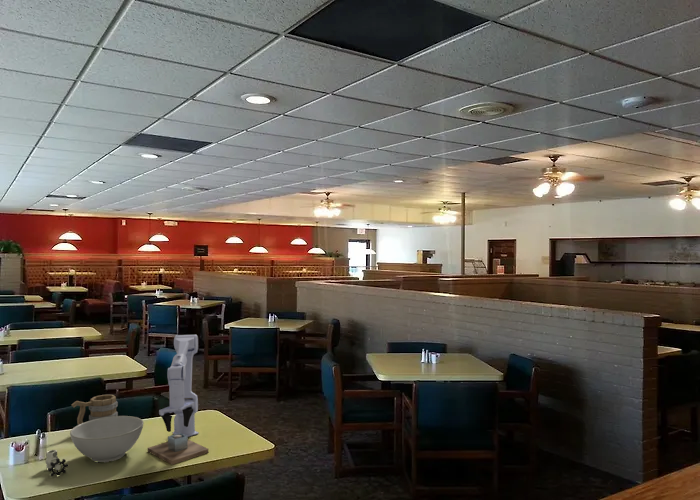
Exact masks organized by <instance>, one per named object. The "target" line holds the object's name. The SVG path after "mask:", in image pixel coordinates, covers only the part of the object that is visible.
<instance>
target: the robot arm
mask: <svg viewBox="0 0 700 500" xmlns="http://www.w3.org/2000/svg"><path fill="white" fill-rule="evenodd" d="M173 346H174V347H173V348H174V350H175V352H176V354H174V356H173V358H172V362H171V365H170V367H168V368H167V373H166V374H167V382H168V383H167V384H168V386H169V392H168V393H169V406H167V407H164V408H162V409H161V408H160V409H159V410H158V414H159V416H160V417H161V419H162V421H163V422H164V426H165V428H166V431H167V432H168V433H169V432H172V419H173V429H174V431H173V432H172V435H175V434H178V433H182V434H184V435H186V436H187V438H188V437H192V436H195V435H198V434H200V433H199V432H198V431H196V426H195V425H196V424H195V422H196V419H195V417H196V415H195V414H196V413H197V412H199V411H198V409H199V400H198V395H197V394H196V393H195V392H193V390H192V383H193V380H192V379H193V359H194V355H195V354H197V353H198V350H199V337H198V335H197V334H175V336H174V338H173ZM171 413H174V414H175V416H174V418H173V415H171Z"/></svg>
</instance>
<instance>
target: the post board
mask: <svg viewBox="0 0 700 500" xmlns="http://www.w3.org/2000/svg"><path fill="white" fill-rule="evenodd" d="M174 435H175V434H174ZM181 437H182V436H181V435H175V436H174V439H177V438H181ZM147 452H148V453H149V454H151V455H153V456H155V457H156V458H159V459H160V460H162V461H165V462H166V463H168V464H170V465H176V464H179V463H182V462H185V461H187V460H190V459H193V458H197V457H199V456H203V455H207V454H209V448H207V447H205V446H203V445H201V444H199V443H197V442H194V441H192V440H190V439H188V448H187V449H184V450H181V451H177V452H173V451H172V450H170V449H168V441H166V442H162V443H159V444H156V445H153V446H148V447H147Z"/></svg>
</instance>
